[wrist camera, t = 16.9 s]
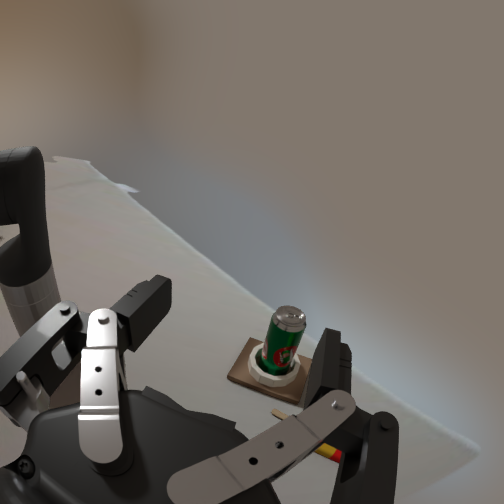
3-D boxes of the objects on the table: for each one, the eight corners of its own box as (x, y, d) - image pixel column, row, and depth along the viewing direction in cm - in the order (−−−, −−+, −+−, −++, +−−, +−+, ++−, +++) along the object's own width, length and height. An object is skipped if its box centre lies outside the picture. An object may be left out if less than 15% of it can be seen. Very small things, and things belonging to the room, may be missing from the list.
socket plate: (226, 378, 41) (228, 367, 40) (249, 340, 50) (251, 329, 48) (297, 404, 38) (303, 394, 37) (310, 362, 47) (315, 351, 45)
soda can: (262, 353, 46) (278, 299, 41) (290, 362, 45) (311, 310, 39) (253, 373, 42) (268, 319, 36) (282, 383, 40) (304, 331, 35)
